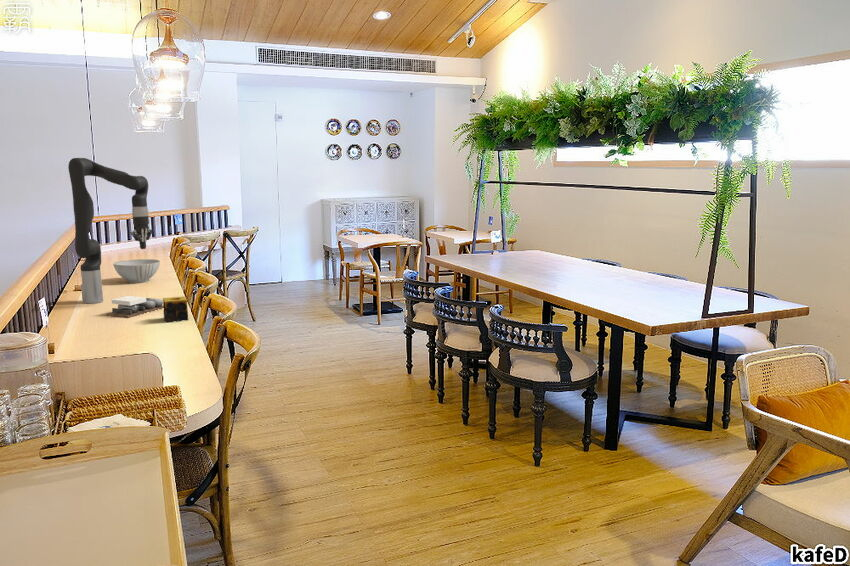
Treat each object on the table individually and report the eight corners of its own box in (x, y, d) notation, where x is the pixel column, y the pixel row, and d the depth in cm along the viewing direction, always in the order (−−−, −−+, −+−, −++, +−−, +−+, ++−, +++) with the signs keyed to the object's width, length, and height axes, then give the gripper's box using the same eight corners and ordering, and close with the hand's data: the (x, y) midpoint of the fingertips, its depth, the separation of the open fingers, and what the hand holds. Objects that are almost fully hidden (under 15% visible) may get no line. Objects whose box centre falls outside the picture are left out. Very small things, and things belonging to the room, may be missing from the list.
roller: (118, 311, 319) (117, 303, 318) (124, 310, 322) (124, 302, 322) (133, 313, 315) (132, 305, 314) (139, 311, 318) (139, 303, 318)
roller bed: (106, 315, 315) (105, 305, 314) (145, 305, 337) (145, 296, 336) (128, 318, 310) (127, 307, 309) (166, 307, 331) (165, 298, 330)
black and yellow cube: (165, 323, 300) (164, 301, 298) (163, 318, 309) (161, 297, 307) (188, 320, 305) (187, 299, 303) (185, 316, 314) (184, 295, 312)
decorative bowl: (150, 285, 394) (148, 265, 392) (106, 285, 395) (104, 265, 393) (168, 277, 421) (166, 259, 419) (127, 277, 421) (125, 259, 419)
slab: (111, 303, 316) (111, 299, 316) (128, 299, 325) (128, 295, 325) (130, 305, 311) (129, 301, 311) (146, 301, 320) (146, 297, 320)
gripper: (145, 214, 341) (147, 247, 344) (124, 216, 329) (127, 250, 332) (155, 214, 338) (158, 247, 341) (135, 216, 326) (138, 250, 329)
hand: (143, 248), depth 336 cm, fingers closed
